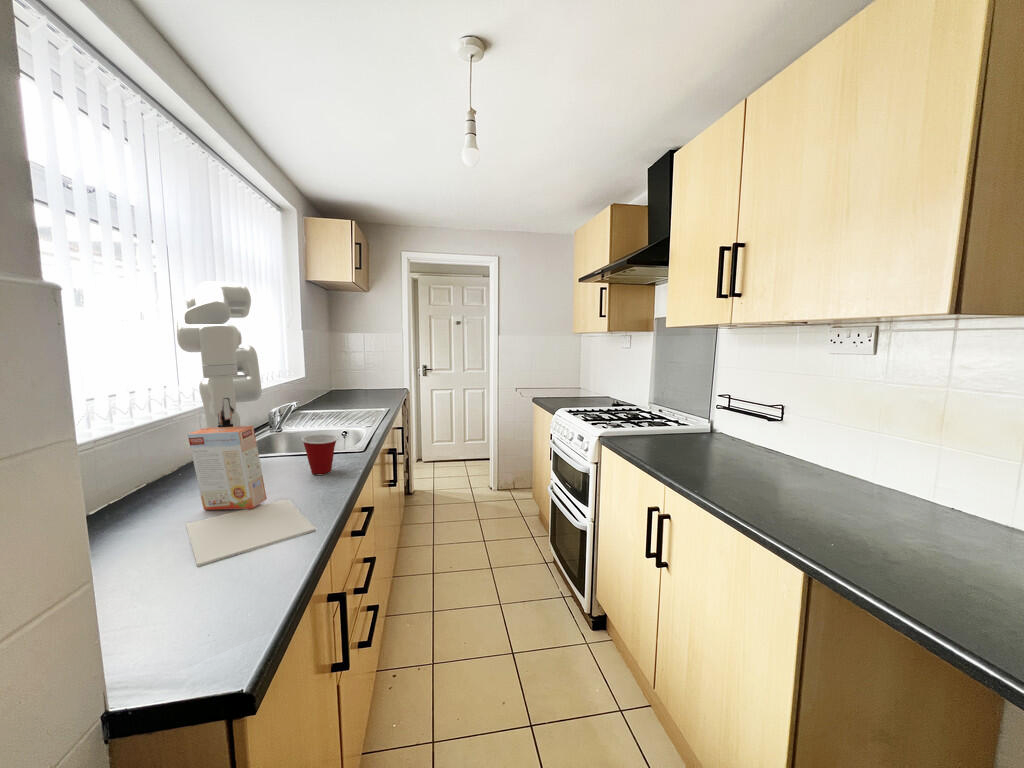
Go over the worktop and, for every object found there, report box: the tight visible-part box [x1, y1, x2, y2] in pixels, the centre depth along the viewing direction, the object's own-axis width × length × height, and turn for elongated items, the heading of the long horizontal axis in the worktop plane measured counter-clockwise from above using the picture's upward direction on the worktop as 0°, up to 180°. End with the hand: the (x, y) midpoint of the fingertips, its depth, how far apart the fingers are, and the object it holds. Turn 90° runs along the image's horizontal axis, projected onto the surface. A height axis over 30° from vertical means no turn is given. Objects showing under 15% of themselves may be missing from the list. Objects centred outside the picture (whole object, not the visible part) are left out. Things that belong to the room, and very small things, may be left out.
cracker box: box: [187, 425, 268, 511], centre depth 108 cm, size 14×6×21 cm, turn 84°
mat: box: [185, 498, 316, 567], centre depth 98 cm, size 24×22×1 cm
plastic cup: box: [301, 433, 339, 475], centre depth 137 cm, size 11×11×12 cm
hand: (226, 439), depth 112 cm, fingers closed
